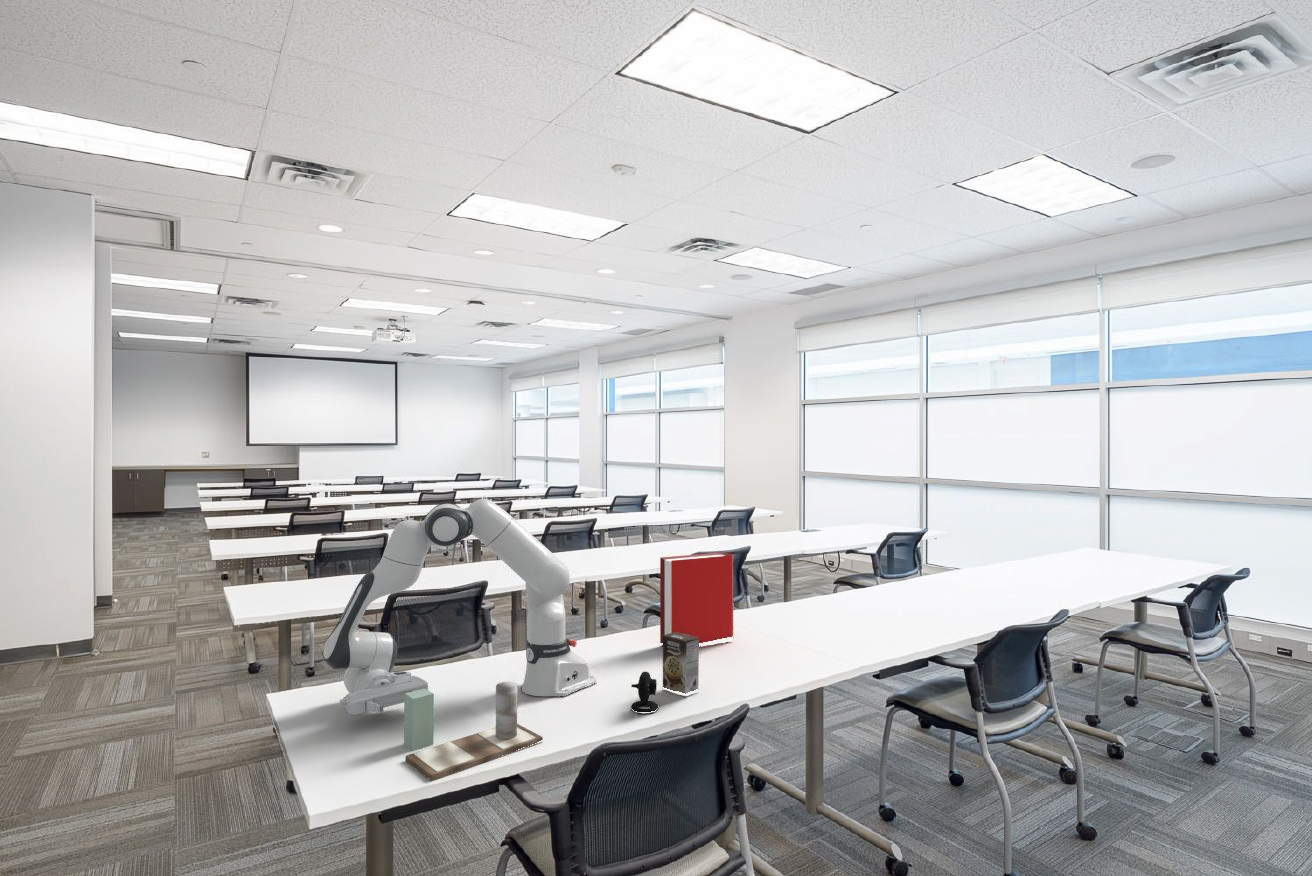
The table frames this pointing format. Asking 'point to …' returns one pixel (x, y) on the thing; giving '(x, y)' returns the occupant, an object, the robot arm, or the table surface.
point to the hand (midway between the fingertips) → (399, 704)
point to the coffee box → (680, 662)
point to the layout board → (478, 741)
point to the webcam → (645, 693)
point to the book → (697, 595)
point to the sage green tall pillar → (418, 719)
